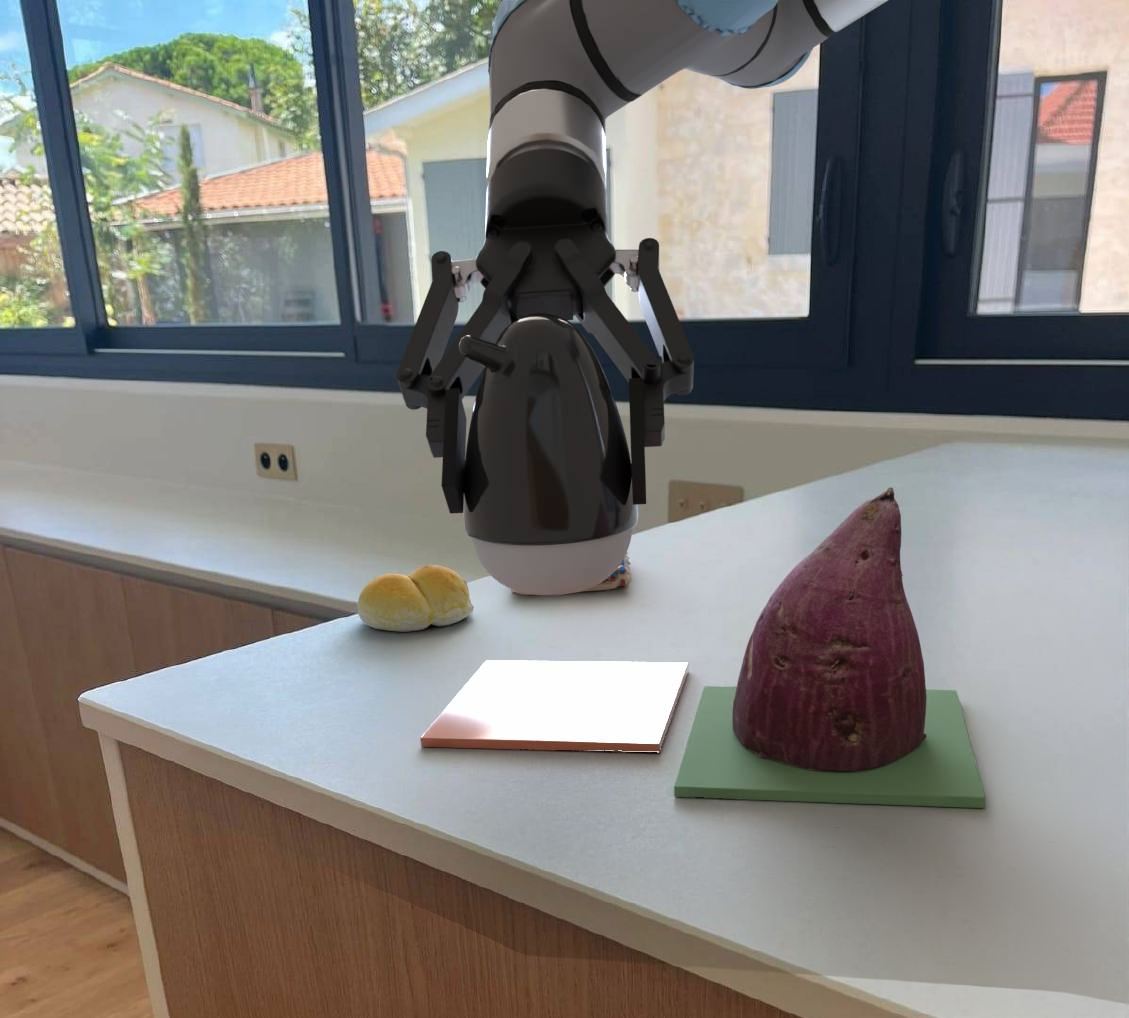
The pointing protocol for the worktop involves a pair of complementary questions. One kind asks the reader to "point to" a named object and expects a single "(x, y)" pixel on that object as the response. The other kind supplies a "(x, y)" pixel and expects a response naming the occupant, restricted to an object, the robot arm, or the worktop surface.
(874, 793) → the green mat
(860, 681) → the vegetable
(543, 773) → the worktop surface
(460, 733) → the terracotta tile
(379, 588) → the bread roll
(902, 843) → the worktop surface
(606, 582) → the woven mat
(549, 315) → the pump dispenser
